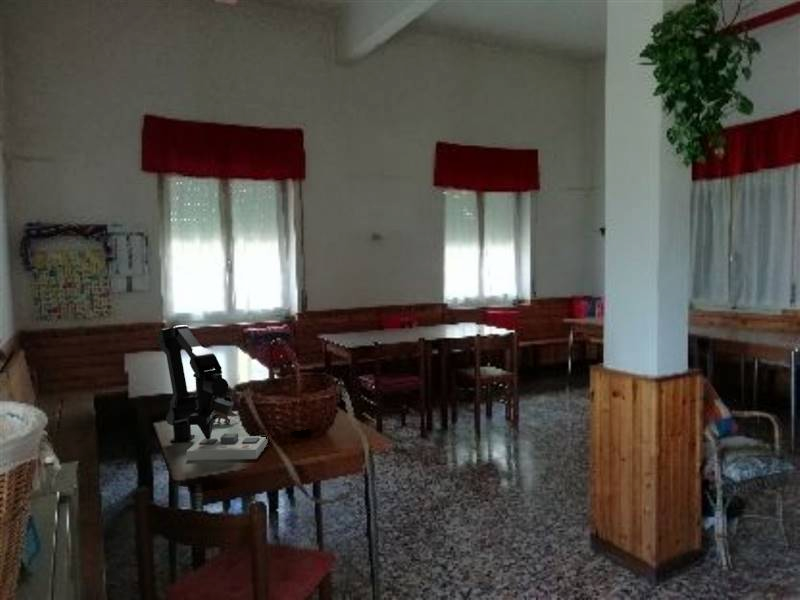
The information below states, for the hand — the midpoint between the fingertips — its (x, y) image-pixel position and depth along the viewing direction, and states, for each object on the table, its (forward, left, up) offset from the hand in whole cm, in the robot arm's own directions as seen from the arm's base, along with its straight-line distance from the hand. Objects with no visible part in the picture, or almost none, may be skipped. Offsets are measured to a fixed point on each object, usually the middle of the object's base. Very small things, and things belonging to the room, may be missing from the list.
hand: (208, 438), depth 198 cm
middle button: (0, +7, -1) cm, 7 cm away
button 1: (0, 0, -3) cm, 3 cm away
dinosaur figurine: (-33, -7, -4) cm, 34 cm away
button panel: (+1, +7, -4) cm, 8 cm away
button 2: (0, +14, -3) cm, 14 cm away
